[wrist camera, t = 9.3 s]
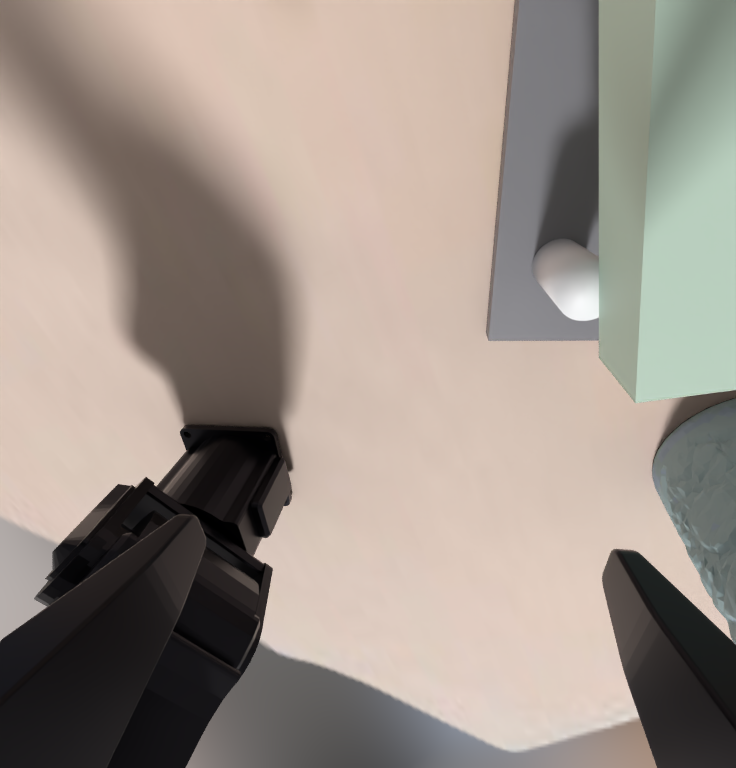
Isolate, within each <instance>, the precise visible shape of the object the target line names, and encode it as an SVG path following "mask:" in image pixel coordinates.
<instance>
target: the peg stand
mask: <svg viewBox="0 0 736 768" xmlns="http://www.w3.org/2000/svg"><path fill="white" fill-rule="evenodd" d="M486 334H487V337H488V341H576V340H599V0H515V6H514V18H513V29H512V41H511V52H510V64H509V75H508V87H507V98H506V110H505V122H504V133H503V145H502V156H501V168H500V179H499V191H498V202H497V214H496V225H495V237H494V248H493V260H492V271H491V283H490V294H489V306H488V317H487V329H486Z"/></svg>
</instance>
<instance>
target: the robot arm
mask: <svg viewBox="0 0 736 768" xmlns="http://www.w3.org/2000/svg"><path fill="white" fill-rule="evenodd" d="M188 432H189V433H188ZM180 435H181V437H182V440H183V442H184V445H185V448H186V450H187V451H186V452H185V454H184V455H183V456H182V457H181V458H180V459H179V461H178V462H177V463H176V464H175V465H174V466H173V468H172V469H171V470H170V471H169V472H168V474H167V475H166V476H165V477H164V478H163V479H162V481H161V482H160V483H159V484H158V485H157V486H155V485H153V484H154V482H152V481H151V480H150V479H148V478H147V477H145V478H144V479H143V480H142V481H141V482H140V483H139V484H138V485H137V486H136V487H134V486H133V485H131V486H127V485H120V484H118V485H117V486H116V487H115V488H114V489H113V490H112V491H111V492H110V493H109V494H108V495H107V496H106V497H105V498H104V499H103V500H102V501H101V502H100V503H99V504H98V505H97V506H96V507H95V508H94V509H93V510H92V511H91V512H90V513H89V514H88V516H87V517H86V518H85V519H84V520H83V521H82V522H81V523H80V524H79V525H78V526H77V527H76V528H75V529H74V530H73V531H72V532H71V533H70V534H69V535H68V536H67V537H66V538H65V539H64V540H63V541H62V543H61V544H60V545H59V546H58V547H57V548H56V549H55V550H54V551H53V570H52V571H51V572H50V573H49V575H48V576H47V577H46V578H45V579H47V580H48V582H47V583H46V585H45V586H44V587H43V588H42V589H41V590H40V592H39V593H38V594H37V595H36V597H35V598H34V599H35V600H37V601H39V602H40V603H42V604H44V605H46V606H47V607H46V608H45V609H44V610H42V611H41V612H40V613H38V614H37V615H36V616H34V617H33V618H31V619H30V620H28V621H27V622H26V623H24V624H23V625H21V626H20V627H19V628H17V629H16V630H14V631H13V632H12V633H10V634H9V635H7V636H6V637H4V638H3V639H2V640H1V641H0V768H185V767H186V765H187V764H188V761H189V760H190V757H191V756H192V754H193V752H194V749H195V748H196V746H197V744H198V742H199V740H200V738H201V736H202V734H203V732H204V730H205V728H206V726H207V725H208V723H209V721H210V720H211V718H212V716H213V715H214V713H215V712H216V710H217V708H218V707H219V705H220V703H221V702H222V700H223V699H224V698H225V696H226V695H227V694H228V692H229V691H230V690H231V688H232V687H233V686H234V685H235V684H236V683H237V682H238V680H239V679H240V677H241V676H242V674H243V673H244V672H245V670H246V668H247V666H248V665H249V663H250V661H251V659H252V657H253V655H254V653H255V651H256V648H257V645H258V643H259V640H260V636H261V632H262V627H263V621H264V616H265V610H266V604H267V599H268V593H269V588H270V582H271V576H272V571H273V568H272V567H270V566H269V565H267V564H266V563H264V564H263V563H262V562H260V561H259V560H258V559H256V558H255V557H253V556H254V554H255V552H256V549H257V547H258V545H259V543H260V541H261V539H262V538H268V537H269V536H270V535H271V533H272V531H273V529H274V527H275V524H276V522H277V520H278V517H279V515H280V513H281V511H282V508H283V506H287V505H289V504H290V502H291V499H292V496H291V492H290V490H291V483H290V478H289V474H288V470H287V465H286V461H285V460H284V458H282V454H281V449H280V445H279V441H278V437H277V434H276V432H275V431H274V430H273V429H271V428H258V427H231V426H203V425H186V426H184V427H183V428H182V430H181V431H180ZM266 435H269V436H270V437H268V436H266ZM602 582H603V588H604V592H605V597H606V601H607V605H608V609H609V613H610V617H611V621H612V626H613V630H614V634H615V638H616V642H617V646H618V651H619V655H620V659H621V662H622V666H623V670H624V673H625V676H626V679H627V682H628V686H629V688H630V691H631V694H632V697H633V700H634V703H635V706H636V708H637V711H638V714H639V717H640V720H641V723H642V726H643V728H644V731H645V734H646V737H647V740H648V743H649V746H650V748H651V751H652V754H653V757H654V760H655V763H656V766H657V768H736V644H735V643H734V642H733V641H732V640H730V639H729V638H728V637H727V636H726V635H725V634H724V633H723V632H722V631H721V630H720V629H719V628H718V627H717V626H716V625H715V624H714V623H713V622H712V621H710V620H709V619H708V618H707V617H706V616H705V615H704V614H703V613H702V612H701V611H700V610H699V609H698V608H697V607H696V606H695V605H694V604H693V603H692V602H690V601H689V600H688V599H687V598H686V597H685V596H684V595H683V594H682V593H681V592H680V591H679V590H678V589H677V588H676V587H675V586H674V585H673V584H671V583H670V582H669V581H668V580H667V579H666V578H665V577H664V576H663V575H662V574H661V573H660V572H659V571H658V570H657V569H656V568H655V567H654V566H653V565H651V564H650V563H649V562H648V561H647V560H646V559H645V558H644V557H643V556H642V555H641V554H640V553H638V552H636V551H633V550H624V549H614V550H612V551H611V553H610V556H609V558H608V561H607V564H606V566H605V569H604V572H603V576H602Z"/></svg>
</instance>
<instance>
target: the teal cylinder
mask: <svg viewBox="0 0 736 768" xmlns="http://www.w3.org/2000/svg"><path fill="white" fill-rule="evenodd" d="M652 475H653V481H654V484H655V488H656V490H657V492H658V494H659V496H660V498H661V500H662V502H663V504H664V506H665V508H666V510H667V512H668V514H669V516H670V518H671V520H672V522H673V524H674V525H675V527H676V529H677V532H678V534H679V536H680V537H681V539H682V541H683V542H684V544H685V546H686V549H687V553H688V555H689V557H690V559H691V560H692V562H693V564H694V566H695V568H696V569H697V571H698V572H699V574H700V577H701V581H702V583H703V585H704V587H705V589H706V591H707V592H708V594H709V595H710V597H711V598H712V599H713V603H714V605H715V607H716V608H717V609H718V611H719V612H720V613H721V614H722V615H723V616H724V617H725V618H726V620H727V621H728V625H729V630H730V635H731V638H732V640H733V642H734V643H735V644H736V398H735V399H732V400H729V401H725V402H722V403H720V404H717V405H715V406H712V407H710V408H707V409H706V410H704V411H702V412H700V413H698V414H696V415H695V416H693V417H691V418H690V419H688V420H687V421H685V422H684V423H682V424H681V425H680V426H679V427H678V428H676V429H675V430H674V431H673V432H672V433H671V434H670V435H669V436H668V437H667V438H666V439H665V441H664V442H663V444H662V445H661V446H660V448H659V449H658V451H657V454H656V456H655V458H654V463H653V468H652Z"/></svg>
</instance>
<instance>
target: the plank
mask: <svg viewBox="0 0 736 768" xmlns="http://www.w3.org/2000/svg"><path fill="white" fill-rule="evenodd" d="M599 358H600V360H601V361H602V362H603V363H604V365H605V366H606V367H607V368H608V370H609V371H610V372H611V373H612V375H613V376H614V377H615V378H616V380H617V381H618V382H619V383H620V385H621V386H622V387H623V388H624V390H625V391H626V392H627V393H628V394H629V396H630V397H631V398H632V399H633V401H634V402H635V403H640V402H648V401H655V400H663V399H671V398H678V397H686V396H694V395H701V394H709V393H717V392H724V391H732V390H736V0H599Z"/></svg>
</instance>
